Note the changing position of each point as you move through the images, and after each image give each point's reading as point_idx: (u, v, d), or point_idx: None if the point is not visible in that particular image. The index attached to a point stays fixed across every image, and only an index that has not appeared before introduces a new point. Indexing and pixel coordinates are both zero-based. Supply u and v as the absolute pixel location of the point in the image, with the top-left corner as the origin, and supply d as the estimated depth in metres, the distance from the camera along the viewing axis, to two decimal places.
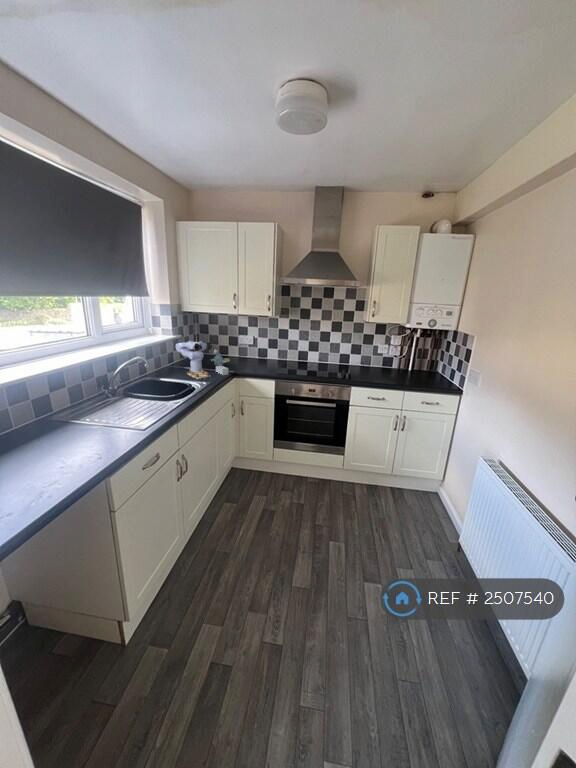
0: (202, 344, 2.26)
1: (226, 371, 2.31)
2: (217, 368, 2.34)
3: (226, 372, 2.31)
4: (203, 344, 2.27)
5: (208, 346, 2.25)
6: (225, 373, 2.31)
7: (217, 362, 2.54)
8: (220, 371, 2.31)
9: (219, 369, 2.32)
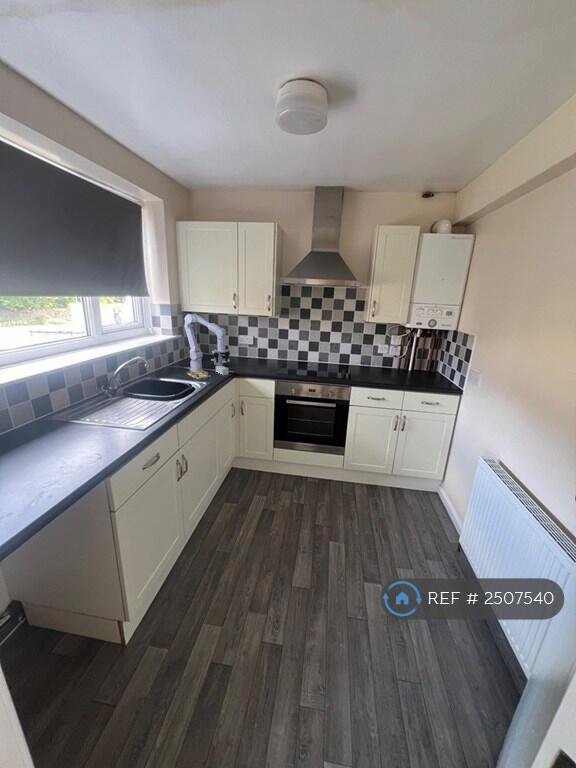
0: None
1: (226, 371, 2.31)
2: (217, 368, 2.34)
3: (226, 372, 2.31)
4: None
5: (225, 355, 2.34)
6: (225, 373, 2.31)
7: None
8: (220, 371, 2.31)
9: (219, 369, 2.32)
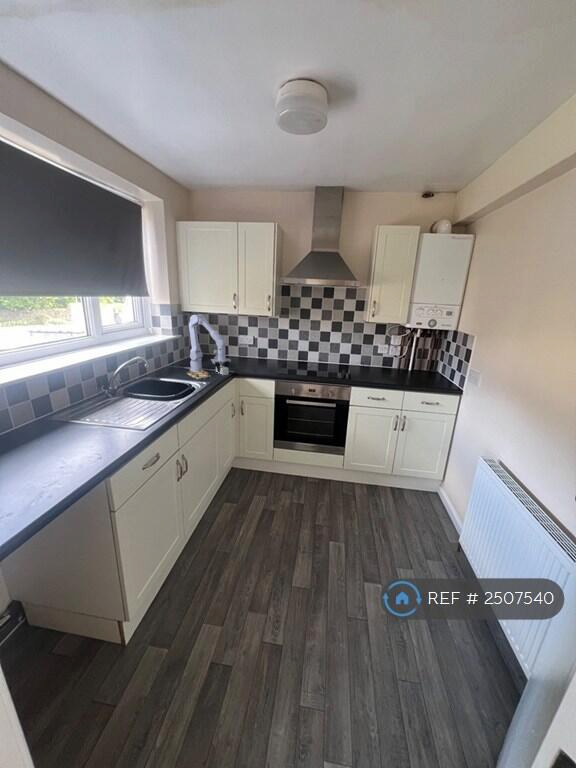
0: None
1: (226, 371, 2.31)
2: None
3: (226, 372, 2.31)
4: None
5: (225, 365, 2.35)
6: (225, 373, 2.31)
7: None
8: (220, 371, 2.31)
9: None
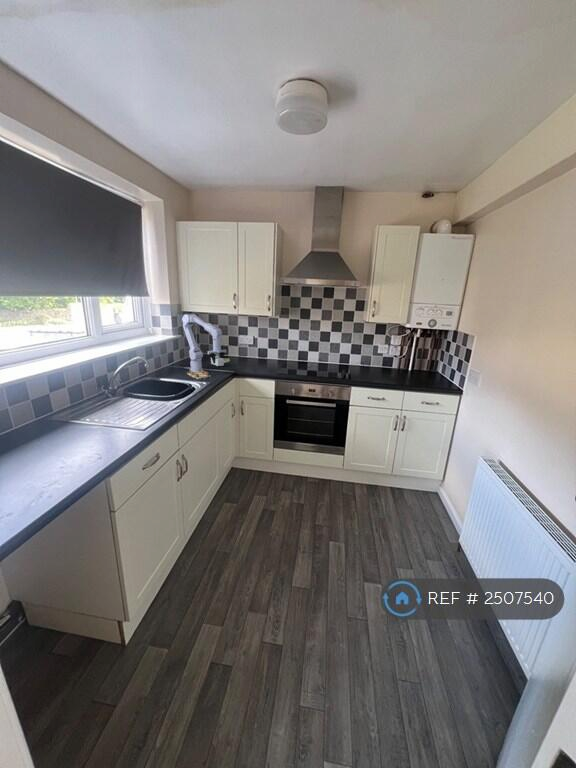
0: None
1: (221, 362, 2.27)
2: None
3: (221, 363, 2.27)
4: (219, 351, 2.28)
5: (220, 356, 2.31)
6: (220, 364, 2.27)
7: None
8: (215, 362, 2.27)
9: None
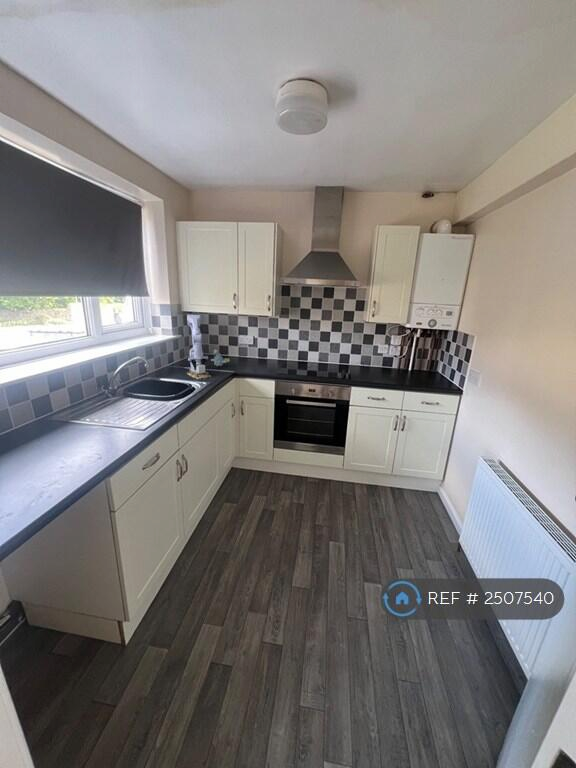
0: None
1: (203, 369, 2.20)
2: None
3: (203, 370, 2.20)
4: None
5: (201, 362, 2.24)
6: (202, 371, 2.20)
7: (217, 362, 2.54)
8: (196, 369, 2.20)
9: None
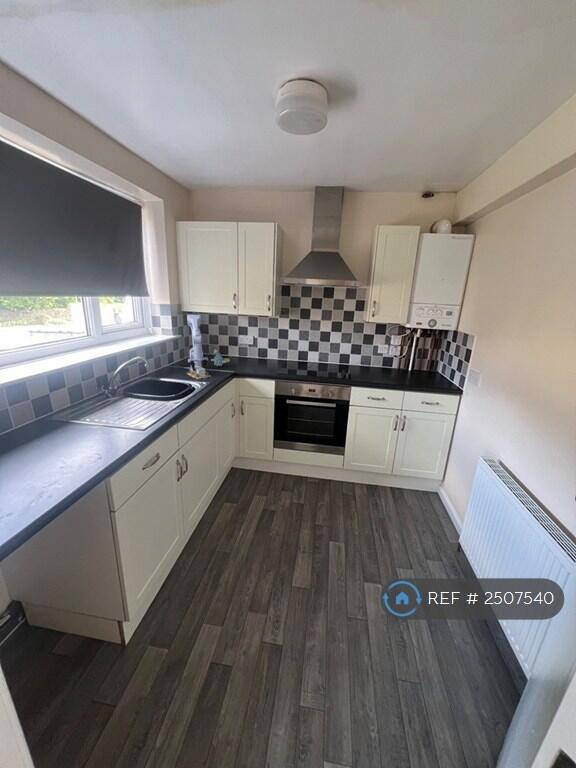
0: None
1: (203, 372, 2.21)
2: None
3: (203, 373, 2.21)
4: (201, 359, 2.22)
5: (203, 363, 2.25)
6: (202, 374, 2.21)
7: (217, 362, 2.54)
8: (196, 372, 2.21)
9: (195, 370, 2.22)
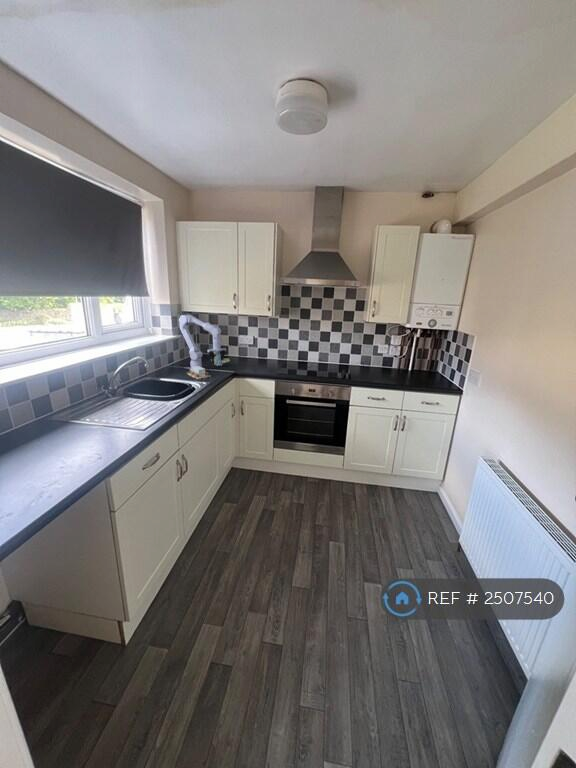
0: None
1: (203, 372, 2.21)
2: (194, 369, 2.24)
3: (203, 373, 2.21)
4: None
5: (221, 354, 2.36)
6: (202, 374, 2.21)
7: (217, 362, 2.54)
8: (196, 372, 2.21)
9: (195, 370, 2.22)
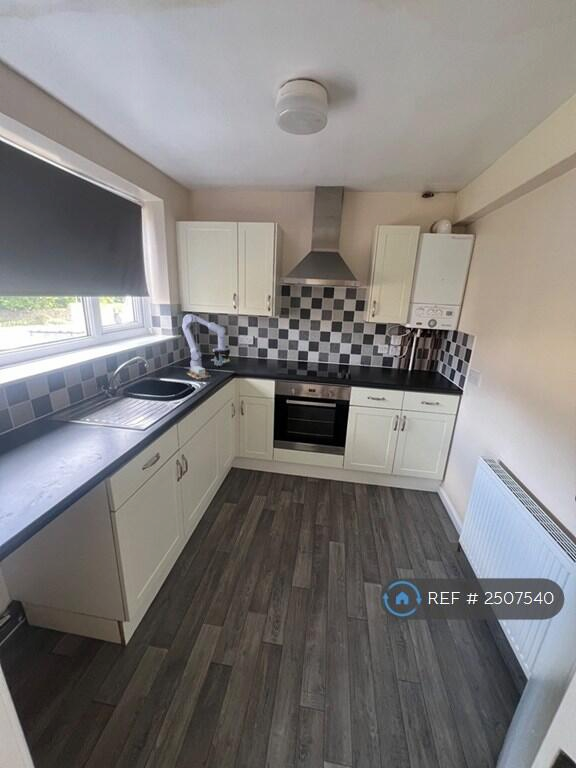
0: None
1: (203, 372, 2.21)
2: (194, 369, 2.24)
3: (203, 373, 2.21)
4: (224, 349, 2.36)
5: (226, 353, 2.39)
6: (202, 374, 2.21)
7: (217, 362, 2.54)
8: (196, 372, 2.21)
9: (195, 370, 2.22)
